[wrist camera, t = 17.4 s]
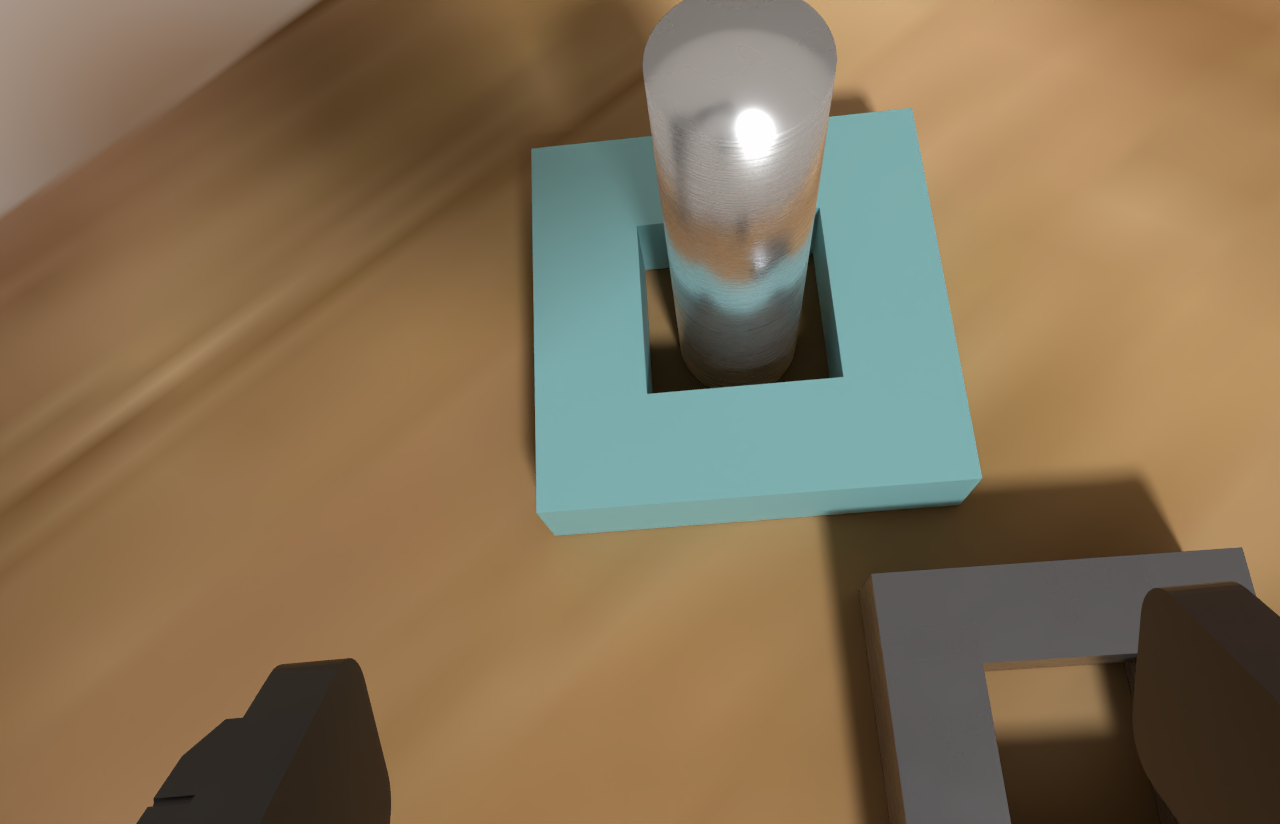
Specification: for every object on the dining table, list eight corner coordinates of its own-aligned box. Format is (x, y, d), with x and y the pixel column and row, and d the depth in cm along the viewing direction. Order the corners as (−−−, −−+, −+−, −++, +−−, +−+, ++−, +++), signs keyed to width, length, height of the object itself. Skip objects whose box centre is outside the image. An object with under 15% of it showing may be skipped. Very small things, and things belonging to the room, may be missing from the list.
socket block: (908, 958, 26) (929, 982, 23) (858, 591, 29) (871, 573, 26) (1291, 943, 25) (1361, 965, 22) (1192, 568, 28) (1242, 547, 26)
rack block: (555, 535, 31) (536, 513, 28) (547, 197, 35) (531, 148, 33) (959, 505, 30) (982, 478, 27) (897, 161, 34) (911, 107, 32)
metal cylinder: (684, 398, 32) (647, 150, 19) (676, 294, 33) (637, -5, 20) (802, 389, 32) (848, 129, 19) (789, 283, 33) (824, -27, 20)
